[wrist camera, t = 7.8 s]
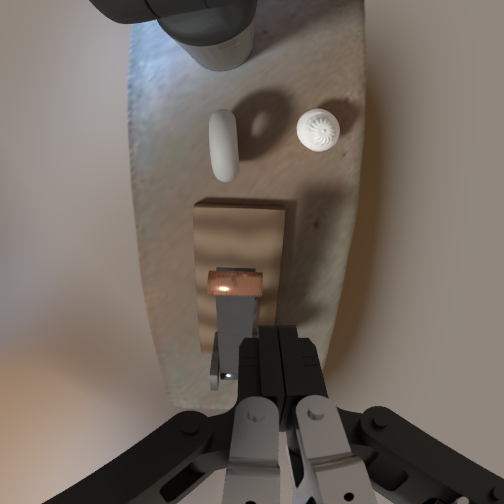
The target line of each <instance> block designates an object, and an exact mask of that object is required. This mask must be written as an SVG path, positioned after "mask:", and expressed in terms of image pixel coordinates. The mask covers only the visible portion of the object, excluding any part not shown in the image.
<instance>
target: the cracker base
mask: <svg viewBox="0 0 504 504" xmlns="http://www.w3.org/2000/svg"><path fill="white" fill-rule="evenodd" d="M285 212H286V210H285V207H284V206H264V205H235V204H195V205H194V206H193V227H194V254H195V275H196V292H197V308H198V322H199V335H200V347H201V354H212V360H211V368H210V386H211V390H217V391H218V384H219V373H220V361H219V346H218V331H217V313H216V295H208V272H209V270H214V271H216V267H227V268H256V272H263V292H262V297H255V301H254V315H253V329H252V338H257V329H258V325H275V317H276V308H277V298H278V288H279V278H280V268H281V257H282V246H283V235H284V223H285Z"/></svg>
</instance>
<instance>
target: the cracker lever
mask: <svg viewBox="0 0 504 504" xmlns="http://www.w3.org/2000/svg"><path fill="white" fill-rule="evenodd" d="M262 292H263V272H256V268H227V267H216V271H214V270H209V272H208V295H216V313H217V331H218V346H219V361H220V378H221V380H238V366H239V346H240V344H241V343H242V341H243V339H244V338H252V329H253V315H254V301H255V297H262Z"/></svg>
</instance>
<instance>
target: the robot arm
mask: <svg viewBox="0 0 504 504" xmlns="http://www.w3.org/2000/svg"><path fill="white" fill-rule="evenodd" d="M89 1H90V2H91V3H92V4H93V5H94V6H95V7H96V8H97V9H98V10H99V11H100V12H101V13H103V14H104V15H105V16H106V17H107V18H109V19H111V20H112V21H114V22H117V23H121V24H134V23H142V22H148V21H152V20H156V19H157V21H158V23H159V25H160V26H161V27H162V29H163V30H164V31H165V32H166V33H167V34H168V35H169V36H170V37H172V38H173V39H174V40H175V41H176V42H177V43H178V44H179V45H180V46H181V47H182V48H183V49H184V50H185V51H186V52H187V53H188V54H189V55H190V56H191V57H192V58H193V59H194V60H195V61H196V62H197V63H199V64H200V65H201V66H203V67H204V68H206V69H209V70H212V71H228V70H232V69H234V68H236V67H238V66H240V65H241V64H243V63H244V62H245V61H246V60H247V59H248V57H249V55H250V54H251V51H252V48H253V40H254V29H255V15H256V5H257V0H89ZM283 431H286V434H287V442H286V447H285V449H286V455H287V460H288V466H289V471H290V476H291V482H292V487H293V504H378V503H377V500H376V497H375V494H374V491H373V489H374V490H375V491H376V492H378V493H379V494H381V495H382V496H384V497H385V498H387V499H388V500H390V501H391V502H393V503H394V504H504V479H503V478H501V477H499V476H497V475H496V474H494V473H492V472H490V471H489V470H487V469H485V468H483V467H482V466H480V465H478V464H476V463H475V462H473V461H471V460H470V459H468V458H466V457H465V456H463V455H461V454H459V453H458V452H456V451H454V450H453V449H451V448H450V447H448V446H446V445H444V444H443V443H441V442H440V441H438V440H437V439H435V438H433V437H431V436H430V435H429V434H427V433H425V432H424V431H422V430H421V429H419V428H418V427H416V426H414V425H413V424H411V423H410V422H408V421H407V420H405V419H404V418H402V417H400V416H399V415H398V414H396V413H395V412H393V411H391V410H390V409H388V408H386V407H382V406H375V407H371V408H368V409H367V410H365V411H364V413H363V414H362V413H356V412H350V411H345V410H342V409H340V408H338V407H336V406H335V404H334V403H333V402H332V401H331V400H330V399H329V398H328V395H327V390H326V386H325V382H324V378H323V374H322V370H321V366H320V362H319V358H318V354H317V350H316V346H315V345H314V344H313V343H312V342H311V340H310V339H309V338H298V333H297V328H296V326H295V325H277V326H276V325H258V329H257V338H244V339H243V341H242V343H241V344H240V346H239V366H238V398H237V402H236V404H235V405H234V407H233V408H232V409H230V410H229V411H228V412H226V413H223V414H220V415H216V416H212V417H207V416H206V415H204V414H202V413H200V412H197V411H183V412H180V413H178V414H176V415H175V416H173V417H172V418H171V419H169V420H168V421H167V422H165V423H164V424H163V425H161V426H160V427H159V428H157V429H156V430H155V431H153V432H152V433H150V434H149V435H148V436H146V437H145V438H144V439H142V440H141V441H139V442H138V443H137V444H135V445H134V446H132V447H131V448H130V449H128V450H127V451H125V452H124V453H122V454H121V455H119V456H118V457H116V458H115V459H113V460H112V461H110V462H109V463H108V464H106V465H104V466H103V467H101V468H100V469H98V470H97V471H95V472H94V473H92V474H91V475H89V476H87V477H86V478H84V479H83V480H81V481H79V482H78V483H76V484H74V485H73V486H71V487H69V488H68V489H66V490H65V491H63V492H61V493H59V494H58V495H56V496H54V497H53V498H51V499H49V500H47V501H46V502H44V503H42V504H177V503H178V502H179V501H180V500H182V499H183V498H184V497H185V496H186V495H188V494H189V493H190V492H191V491H192V490H194V489H195V488H196V487H197V486H198V485H199V484H201V482H203V481H204V480H205V479H206V478H207V477H208V476H210V475H211V474H212V473H213V472H214V471H215V470H219V469H223V468H227V469H226V475H225V483H224V490H223V498H222V504H280V467H279V465H278V445H279V432H283Z"/></svg>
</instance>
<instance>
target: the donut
mask: <svg viewBox="0 0 504 504" xmlns="http://www.w3.org/2000/svg"><path fill="white" fill-rule="evenodd" d="M209 145H210V155H211V162H212V168H213V172H214V174H215V176H216V178H217V179H219V180H220V181H223V182H229V181H232V180H234V179H235V178H236V177H237V175H238V173H239V155H238V140H237V127H236V120H235V116H234V115H233V113H232V112H231V111H229V110H226V109H220V110H217V111H216V112H214V114H213V115H212V116H211V119H210V123H209Z"/></svg>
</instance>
